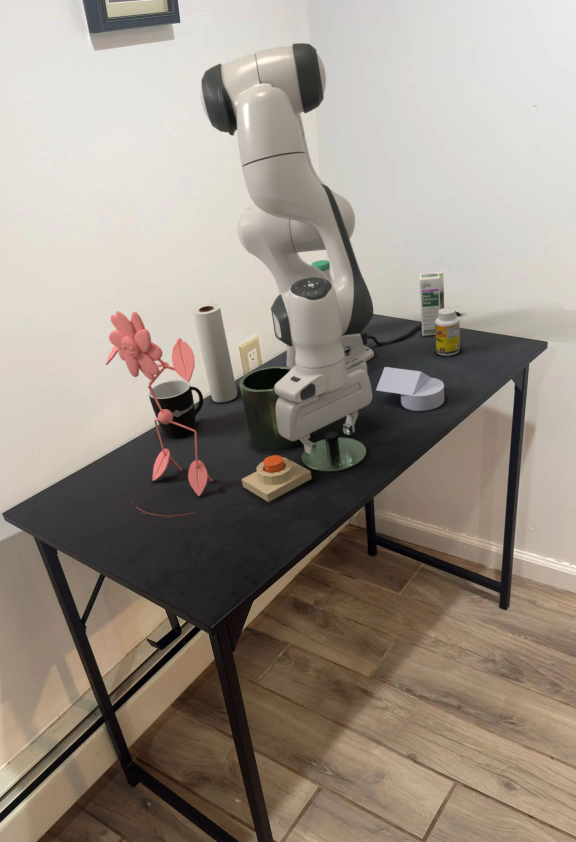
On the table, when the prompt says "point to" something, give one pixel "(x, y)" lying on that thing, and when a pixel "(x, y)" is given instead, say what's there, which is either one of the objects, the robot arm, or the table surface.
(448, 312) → the supplement bottle
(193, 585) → the table surface
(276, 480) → the switch base
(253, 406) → the dark green cylinder
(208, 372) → the paper towel roll
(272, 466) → the power button
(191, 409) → the mug
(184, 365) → the figurine
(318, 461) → the kettle lid
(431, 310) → the syrup box
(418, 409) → the wedge on round base
